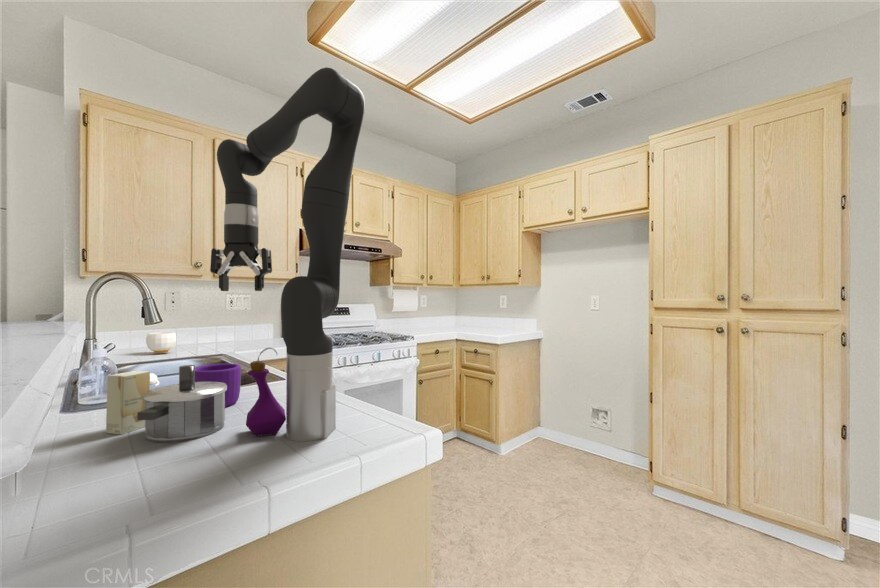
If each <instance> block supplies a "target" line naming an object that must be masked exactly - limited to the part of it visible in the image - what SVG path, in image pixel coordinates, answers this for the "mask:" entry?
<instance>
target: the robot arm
mask: <svg viewBox="0 0 880 588" xmlns="http://www.w3.org/2000/svg"><path fill="white" fill-rule="evenodd" d="M365 100H366V99H365V96H364V93H363V91H361V89H360V88H359V87H358V86H357V85H356V84H355V83H353V82H352V81H350V80H349V79H348V78H347V77H345V76H344V75H343V74H342V73H340V72H338V71H337V70H335V69H334V68H332V67H327V66H326V67H322V68H320V69H318V70H316V71H315V72H314V73H312V75H310V76H309V77H308V78H307V79H306V80H305V81H304V82H303V83H302V84H301V86H300V87H299V88H298V89H297V90H296V91H295V92H294V93H293V94H292V95H291V96H290V97H289V98H288V100H287V101H286V102H285V103H284V104H283V106H282V107H280V109H279V110H278V111H277V112H276V113H274V115H272V116H271V117H270V118H269V119H267V120H266V121H264V122H263V123H261V124H260V125H259V126H257V127H256V128H254V129H253V130H251V131H250V132H249V133H248V135H247V136H246V142H245V143H246V144H245V143H242V142H239V141H237V140H235V139H231V138H227V139H224V140H222V141H221V142H220V144H219V145H218V146H217V150H216V160H217V165H218V168H219V172H220V174H221V178H222V181H223V182H222V183H223V185H224V191H225V193H224V195H225V196H224V197H225V199H224V200H225V201H224V203H225V205H224V212H223V243H224V248H223V249H221V248H220V249H219V248H211V250H210V251H211V253H210V254H211V255H210V270H209V271H210V273H212V274H216V275H217V276H218V288H219V289H220V291H221V292H229V290H230V286H229V285H230V277H229V276H228V275H229V273H231V271H232V270H233V269H234V268H235V267H240V268H241V267H247V268H248V267H249V268H250V269H251V271H252V272H253V273H254V274H255V275H254V291H255V292H261V291H262V290H263V289H264V287H265V275H268V274H272V272H273V265H272V264H273V263H272V250H271V249H269V248H265V247H262V248H261V249H259V214H258V212H259V211H258V189H257V186H255V185H254V184H253V183H252V182H250V181H248V180H246V178H245V177H244V175H245V176H247V177H256V176H259V175H262V173H264V171H265V170H266V168H268V166H269V165H270V164H271V162H272V160H273V159H274V158H276V157H278V156H279V155H281V154H283V153H284V152H286V151H287V150H289V148H291V147H292V146H293V144H294V143H295V141H296V139H297V136H298V134H299V128H300V126H301V124H302V123H303V122H304V121H305V120H306V119H308V118H309V117H313V116H315V115H318V116H319V117H321V118H323V119H324V120H326V121H328V122H330V123H331V131H330V138H329V143H328V146H327V147H328V148H327V149H326V151H325V153H324V155H323V156H322V157H321V158H320V159H319V161H318V162H317V163H316V164H315V165H314V166H313V167H312V169H311V170H310V172H309V173H308V175H307V177H306V179H305V181H304V187H303V194H302V202H301V203H302V204H301V218H302V224H303V228H304V231H305V235H306V239H307V243H308V248H309V250H308V251H309V264H308V269H307V275H306V276H303V275H301V276H295V277H293V278H291V279H288V281H287V282H286V283H285V285H284V287H283V289H282V291H281V297H280V317H281V319H280V320H281V335H282V340H283V342H284V344H285V349H286V374H285V375H286V385H285V387H286V399H285V400H286V401H285V402H286V403H285V405H286V412H285V416H286V420H285V422H286V425H285V426H286V427H285V429H286V434H285V435H286V439H288V440H290V441H294V442H311V441H317V440H326V439H328V437H330V435H331V434H332V433H333V432H334V431H335V430H336V428H337V427H336V424H337V423H336V421H337V419H336V417H337V416H336V414H337V413H336V409H337V408H336V400H337V399H336V397H337V396H336V393H337V391H336V390H337V388H336V387H337V386H336V385H334V384H333V339H332V338H331V337H330V336H328V335H327V334H326V333H325V331H324V324H323V319H326V318H328V317H331V316H332V314H333V313H334V312H335V311H336V309H337V308H338V304H339V302H340V301H339V300H340V292H341V291H340V290H341V289H340V287H341V285H340V284H341V283H340V282H341V259H342V257H341V256H342V248H343V241H344V236H345V235H344V234H345V227H346V226H345V224H346V219H347V215H348V206H349V199H350V191H351V190H350V188H351V179H352V174H353V168H354V161H355V157H356V151H357V145H358V140H359V137H360V133H361V128H362V125H363V120H364V116H365V109H366V101H365ZM224 257H225V259H224V260H223V258H224ZM258 257H260V258H261V264H260V262H259V261H258V259H257V258H258Z"/></svg>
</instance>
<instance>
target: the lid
mask: <svg viewBox="0 0 880 588" xmlns="http://www.w3.org/2000/svg"><path fill="white" fill-rule="evenodd" d="M195 368H196V366H195V364H185V365H180V366H179V367H178V383H176V384H175V383H174V384H168V385H163V386H160V387H156V388H155V387H154V388H152V389H150V390H149V391H147V392H145V393H144V394H143V401H145V402H149V403H177V402H187V401H194V400H199V399H204V398H209V397H213V396H216V395H219V394H221V393H223V392H225V391H226V390H227V384H225V383H222V382H209V381H207V382H195Z"/></svg>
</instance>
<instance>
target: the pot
mask: <svg viewBox="0 0 880 588" xmlns="http://www.w3.org/2000/svg"><path fill="white" fill-rule="evenodd" d="M225 411H226V407H225V392H223V393H221V394H219V395H216V396H213V397H209V398H204V399H199V400H194V401H187V402H177V403H149V402H145V410H143V411H140V412H138V419H137V420H145V427H144V433H145V439H146V441H148V442H152V443H158V444H159V443H160V444H161V443H163V444H165V443H167V444H168V443H169V444H171V443H181V442H188V441H193V440H196V439H200V438H204V437H207V436H210V435H212V434H213V435H214V434H216V433H217V432H219V431H221V430H222V429H223V428H224V427H225V421H226V419H225V418H226V412H225Z"/></svg>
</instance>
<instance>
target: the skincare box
mask: <svg viewBox="0 0 880 588" xmlns="http://www.w3.org/2000/svg"><path fill="white" fill-rule="evenodd" d="M150 373H151V371H147V370H133V371H128V372H121V373H114V374H109V375H107V378H106V380H107V383H106V385H107V386H106V418H105V419H106V420H105V423H106V424H105V433H106V434H114V435H124V434H125V435H126V434H127V433H131V432H133V431H137V430H140V429H143V428H145V420H137V419H138V412H140V411H143V410H145V401H143V394H144V393H145V392H147V391H149V390H151V388H150V387H151V385H150Z"/></svg>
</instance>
